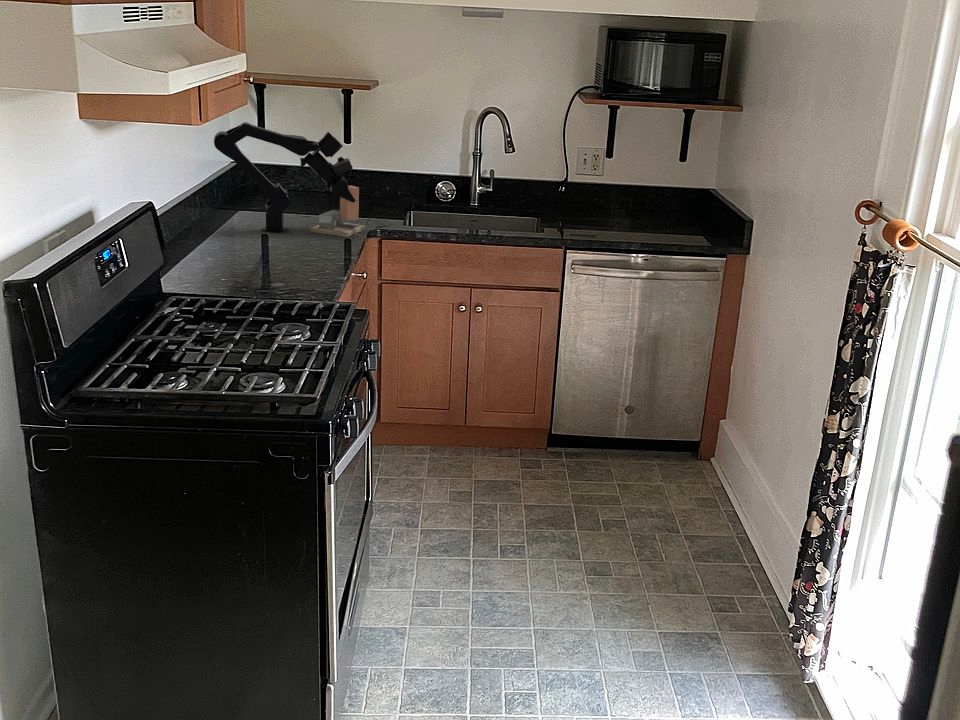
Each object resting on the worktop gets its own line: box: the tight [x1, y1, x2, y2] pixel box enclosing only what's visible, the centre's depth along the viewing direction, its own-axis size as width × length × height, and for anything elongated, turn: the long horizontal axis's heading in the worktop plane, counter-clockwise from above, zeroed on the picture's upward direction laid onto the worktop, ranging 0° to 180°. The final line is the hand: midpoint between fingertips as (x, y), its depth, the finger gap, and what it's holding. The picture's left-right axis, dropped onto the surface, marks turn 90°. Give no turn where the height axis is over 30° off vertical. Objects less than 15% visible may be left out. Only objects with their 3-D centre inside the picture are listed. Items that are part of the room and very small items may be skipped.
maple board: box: [310, 209, 366, 238], centre depth 323 cm, size 14×14×6 cm
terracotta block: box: [339, 185, 360, 221], centre depth 322 cm, size 5×5×11 cm
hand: (353, 199), depth 322 cm, fingers closed on terracotta block, 6 cm apart
